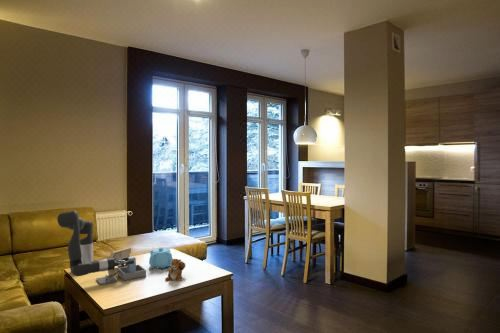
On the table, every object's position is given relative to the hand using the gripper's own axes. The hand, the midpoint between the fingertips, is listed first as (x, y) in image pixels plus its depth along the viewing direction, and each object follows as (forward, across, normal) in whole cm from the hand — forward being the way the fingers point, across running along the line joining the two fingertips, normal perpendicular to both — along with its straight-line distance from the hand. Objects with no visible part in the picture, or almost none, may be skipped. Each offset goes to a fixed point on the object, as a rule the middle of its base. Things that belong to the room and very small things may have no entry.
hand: (131, 260), depth 232 cm
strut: (0, 0, +10) cm, 10 cm away
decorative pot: (+23, +8, +11) cm, 27 cm away
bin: (0, 0, +10) cm, 11 cm away
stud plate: (-16, 0, +10) cm, 19 cm away
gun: (-3, +18, +11) cm, 21 cm away
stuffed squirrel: (+22, -22, +11) cm, 33 cm away
